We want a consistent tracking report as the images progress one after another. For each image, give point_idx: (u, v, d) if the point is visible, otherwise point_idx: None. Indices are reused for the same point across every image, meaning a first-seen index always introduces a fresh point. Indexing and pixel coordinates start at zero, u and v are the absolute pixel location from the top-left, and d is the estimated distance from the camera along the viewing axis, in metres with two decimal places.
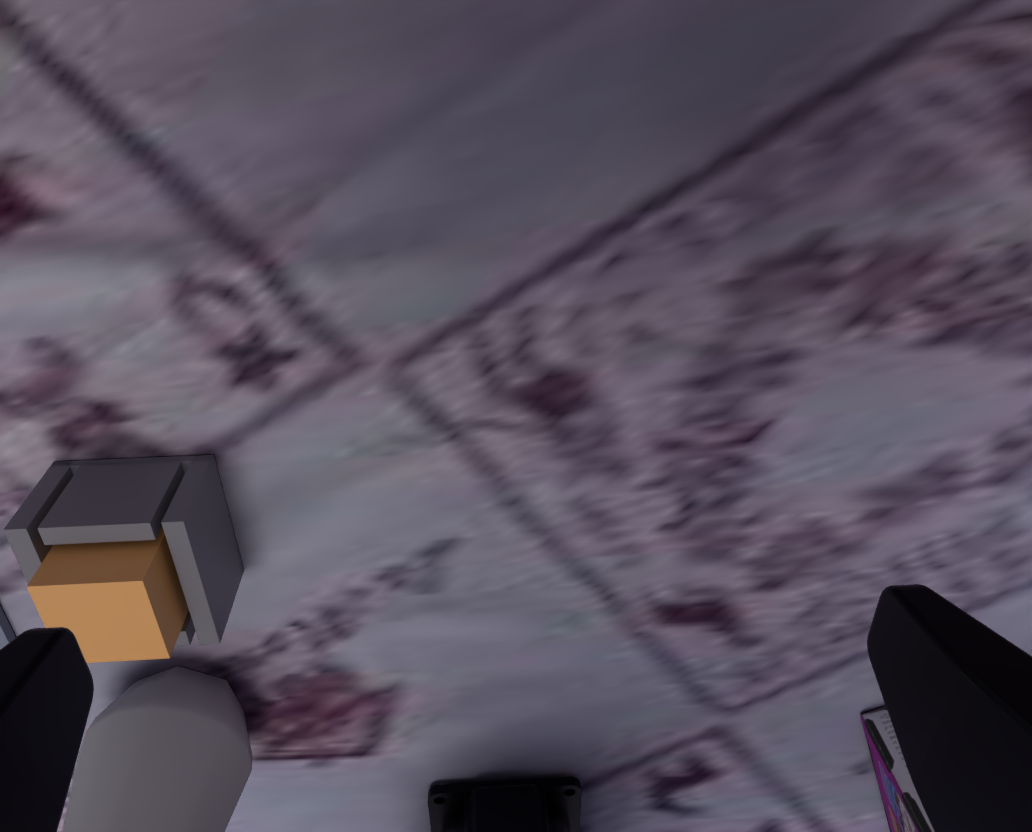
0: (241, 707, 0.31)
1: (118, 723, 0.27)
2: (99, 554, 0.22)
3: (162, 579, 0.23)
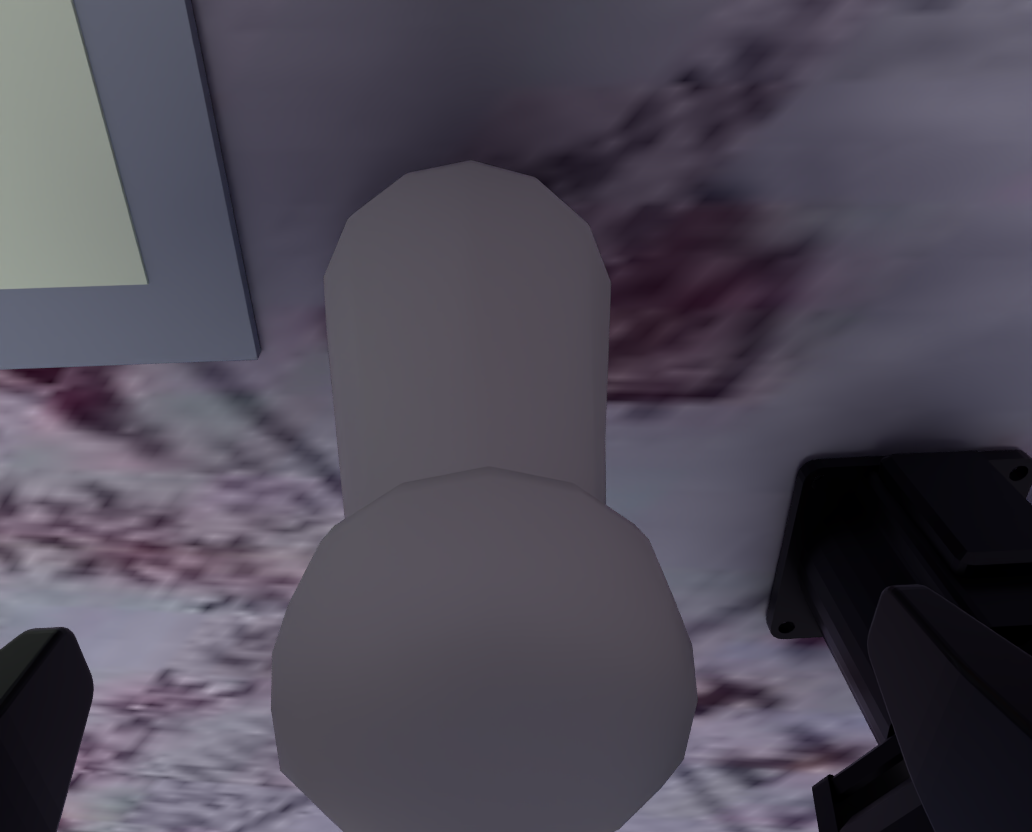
0: None
1: (416, 184, 0.14)
2: None
3: None
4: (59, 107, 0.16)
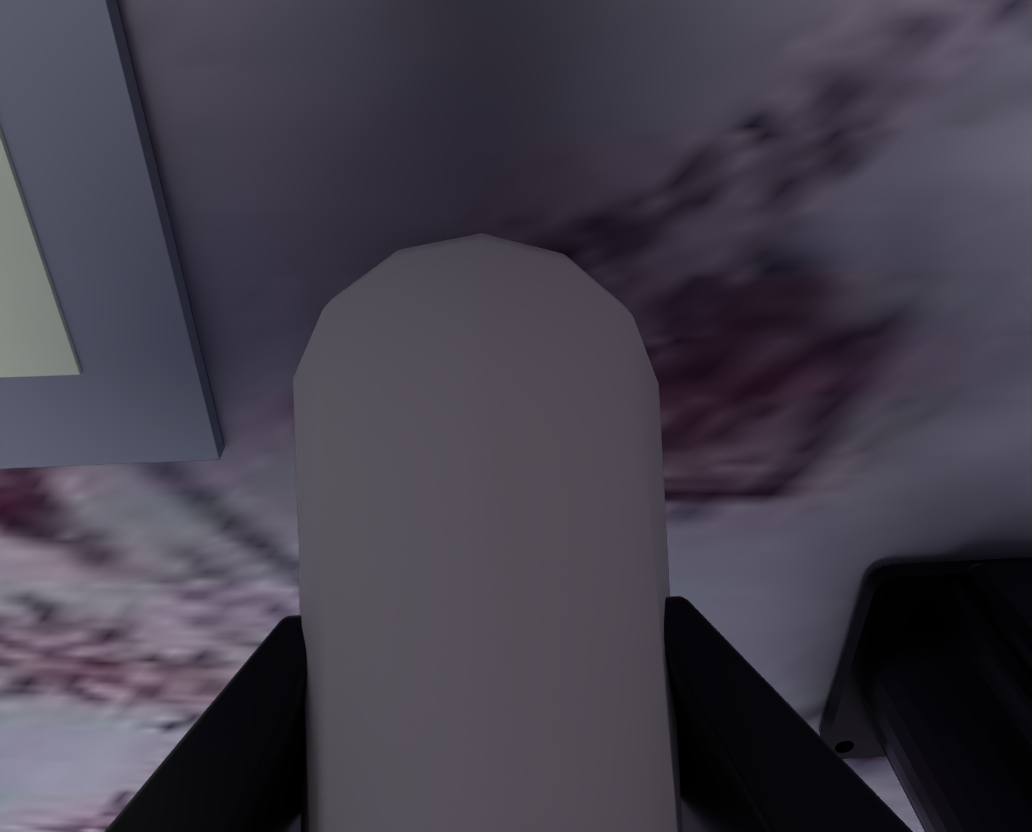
0: None
1: (410, 268, 0.11)
2: None
3: None
4: None
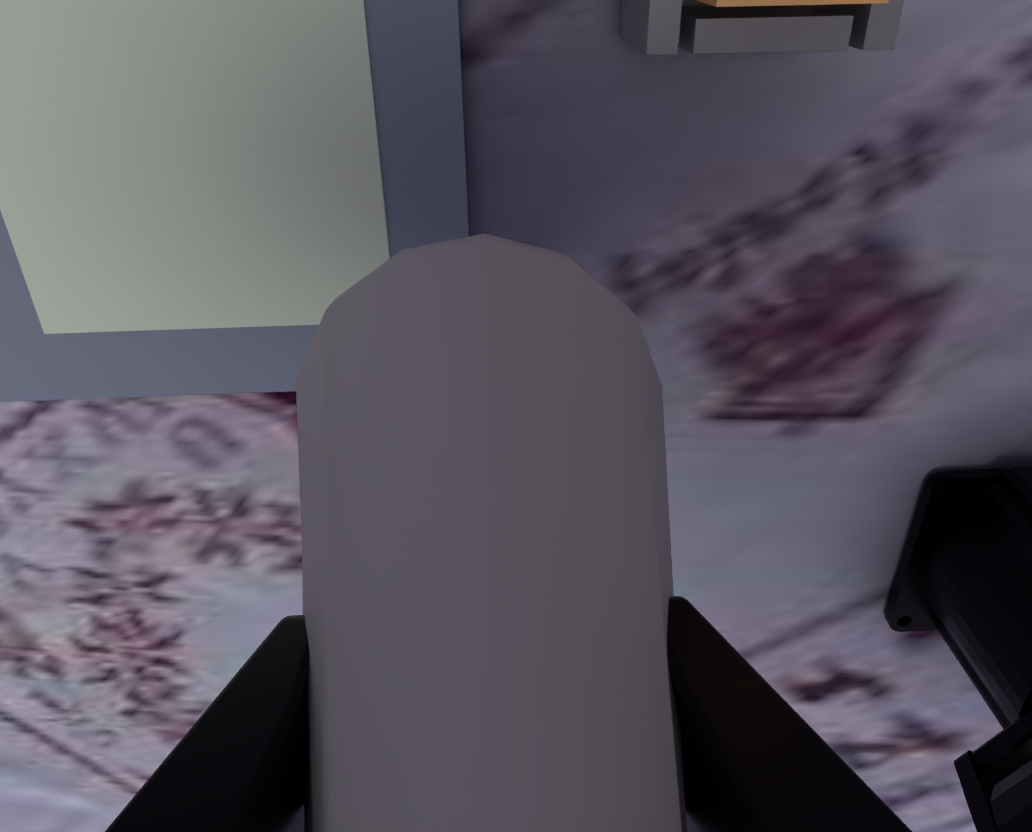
0: None
1: (414, 269, 0.11)
2: None
3: None
4: (349, 179, 0.19)
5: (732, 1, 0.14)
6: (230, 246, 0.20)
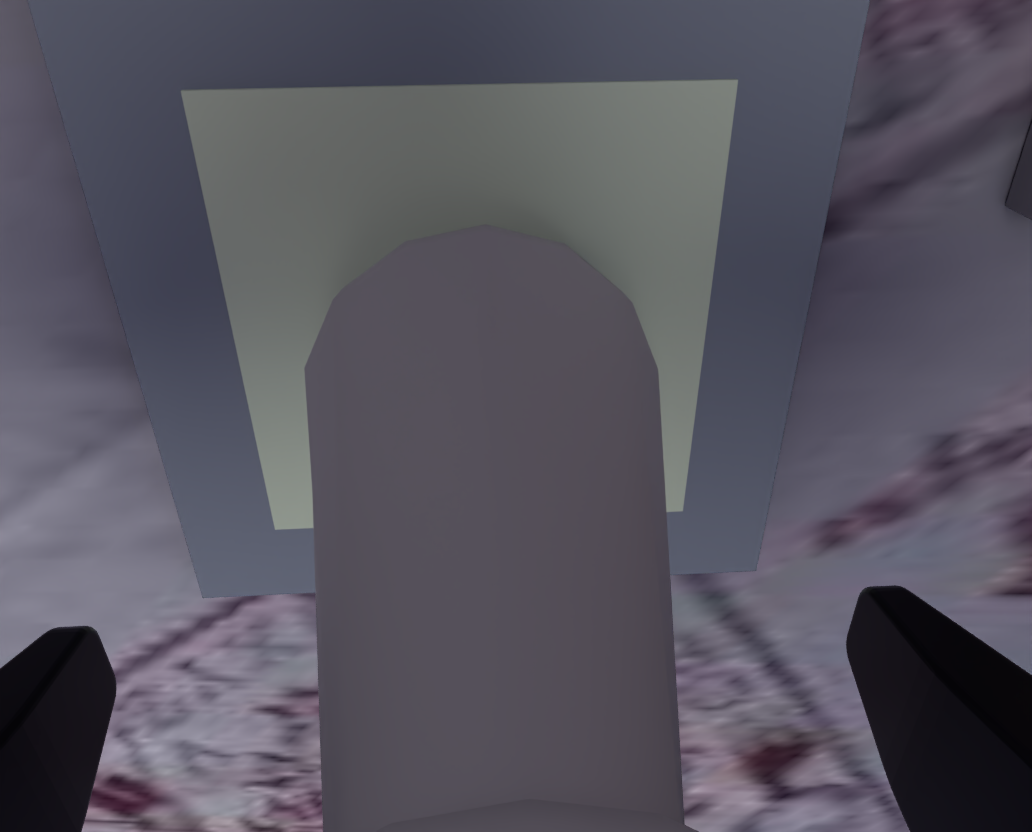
0: None
1: (417, 259, 0.11)
2: None
3: None
4: (663, 366, 0.16)
5: None
6: None
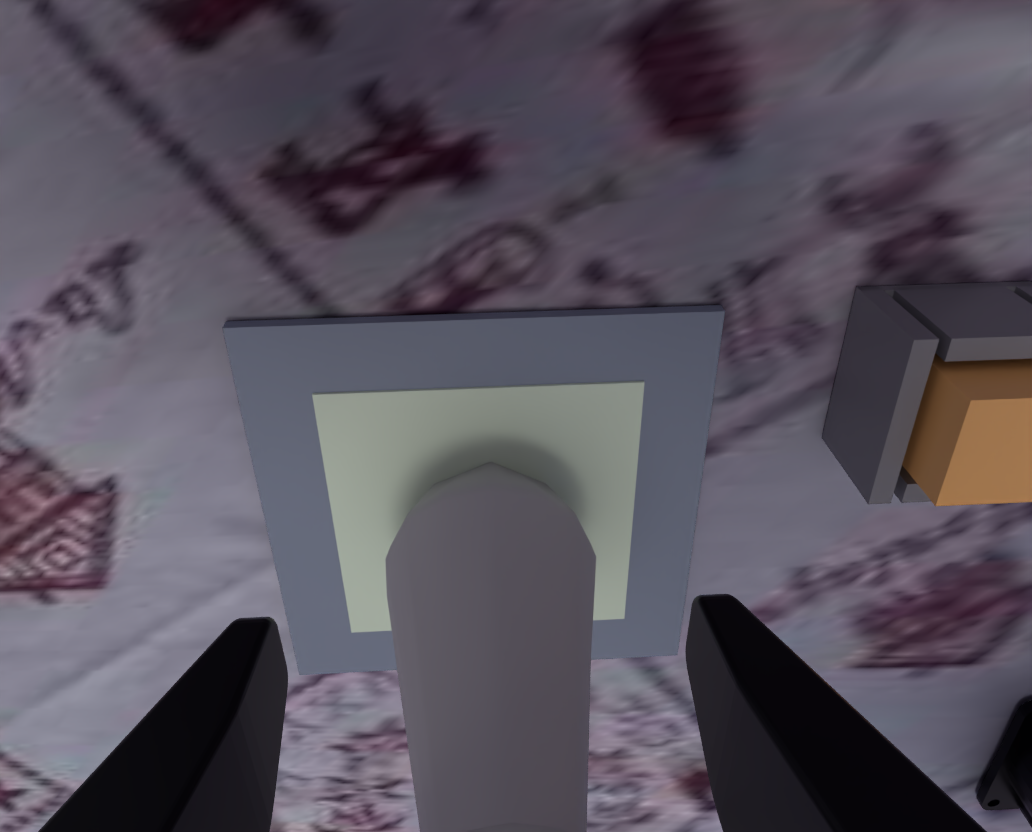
0: None
1: (454, 509, 0.20)
2: (1004, 373, 0.19)
3: None
4: (607, 533, 0.25)
5: (947, 503, 0.20)
6: None
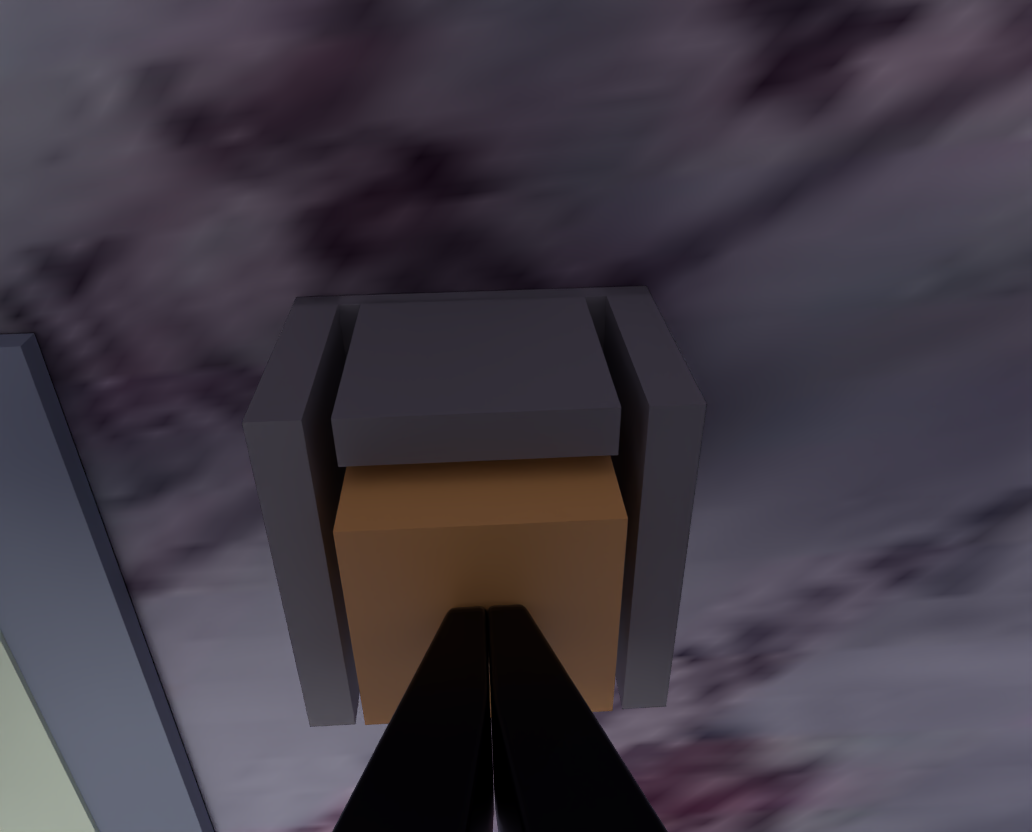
0: None
1: None
2: (476, 461, 0.09)
3: None
4: None
5: (386, 721, 0.10)
6: None
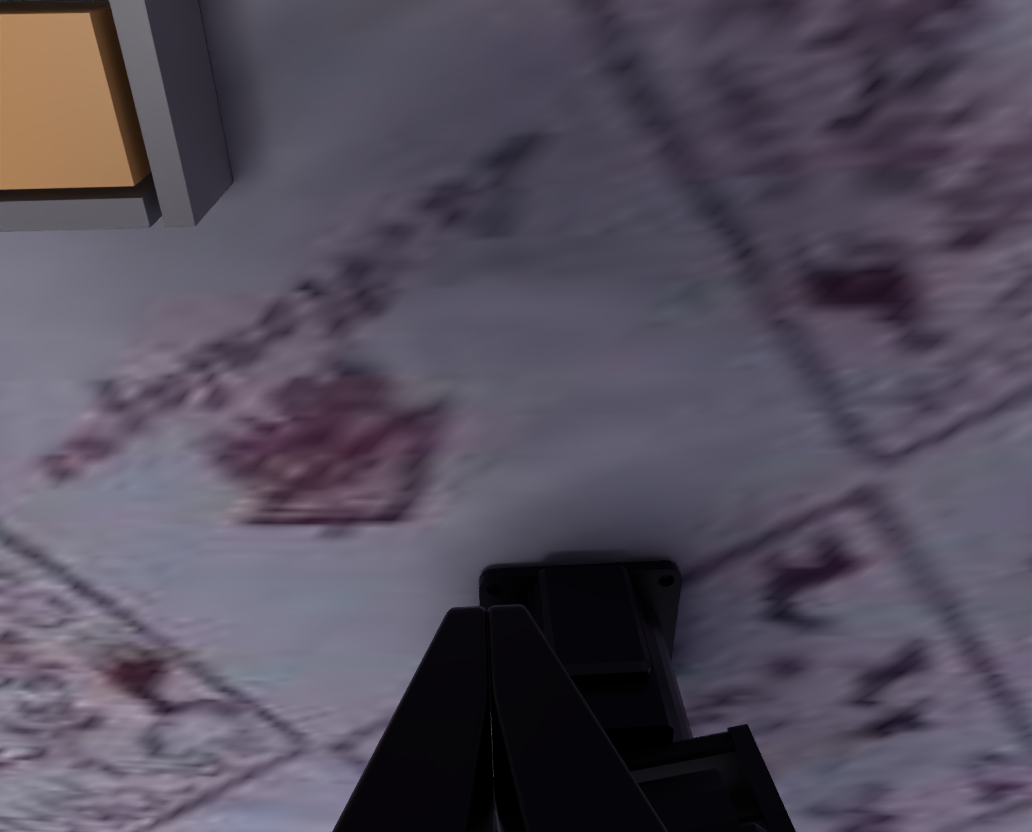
0: None
1: None
2: (28, 8, 0.15)
3: (123, 60, 0.15)
4: None
5: None
6: None
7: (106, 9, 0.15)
